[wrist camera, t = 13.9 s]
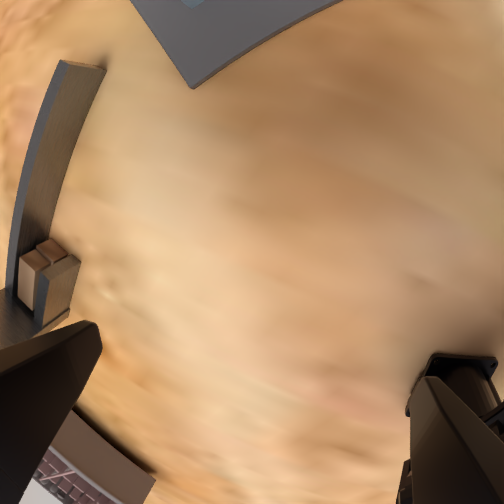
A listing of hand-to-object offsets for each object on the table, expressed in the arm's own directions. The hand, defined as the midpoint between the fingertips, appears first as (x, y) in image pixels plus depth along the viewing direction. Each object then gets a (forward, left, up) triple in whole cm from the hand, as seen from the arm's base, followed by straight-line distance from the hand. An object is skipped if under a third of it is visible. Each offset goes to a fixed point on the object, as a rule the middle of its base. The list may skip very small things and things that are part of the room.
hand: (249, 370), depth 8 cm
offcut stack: (+21, +6, -13) cm, 26 cm away
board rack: (+18, 0, -13) cm, 22 cm away
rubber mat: (+6, -17, -13) cm, 22 cm away
